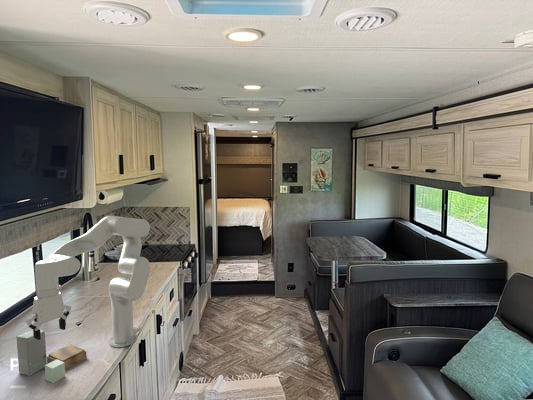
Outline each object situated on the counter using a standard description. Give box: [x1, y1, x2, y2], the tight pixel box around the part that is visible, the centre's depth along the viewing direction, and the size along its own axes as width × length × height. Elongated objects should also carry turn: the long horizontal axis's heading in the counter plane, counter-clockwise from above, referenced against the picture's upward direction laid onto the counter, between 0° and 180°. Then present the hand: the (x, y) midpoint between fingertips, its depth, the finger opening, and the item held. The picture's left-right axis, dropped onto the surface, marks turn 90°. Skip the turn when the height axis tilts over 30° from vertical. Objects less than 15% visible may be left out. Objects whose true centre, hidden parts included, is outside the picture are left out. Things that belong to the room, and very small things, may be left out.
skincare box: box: [15, 329, 47, 377], centre depth 153 cm, size 8×7×16 cm
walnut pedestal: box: [46, 343, 88, 370], centre depth 160 cm, size 11×11×4 cm
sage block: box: [44, 359, 66, 384], centre depth 148 cm, size 5×5×6 cm
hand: (50, 333), depth 145 cm, fingers open, 9 cm apart
